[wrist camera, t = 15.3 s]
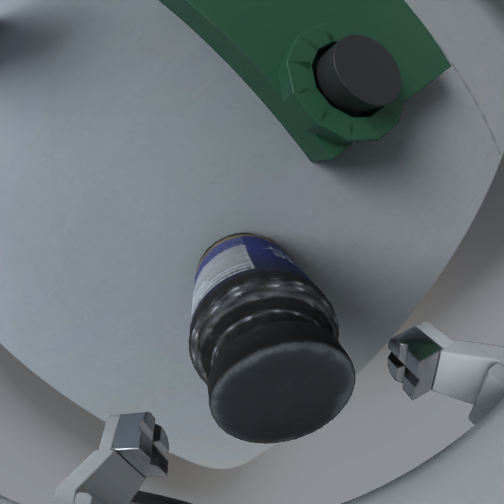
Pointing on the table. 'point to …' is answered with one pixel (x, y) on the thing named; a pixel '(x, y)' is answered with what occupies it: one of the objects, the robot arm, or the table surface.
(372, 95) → the dark grey short cylinder
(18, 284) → the table surface
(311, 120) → the dispenser
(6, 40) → the table surface
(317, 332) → the pill bottle
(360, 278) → the table surface
